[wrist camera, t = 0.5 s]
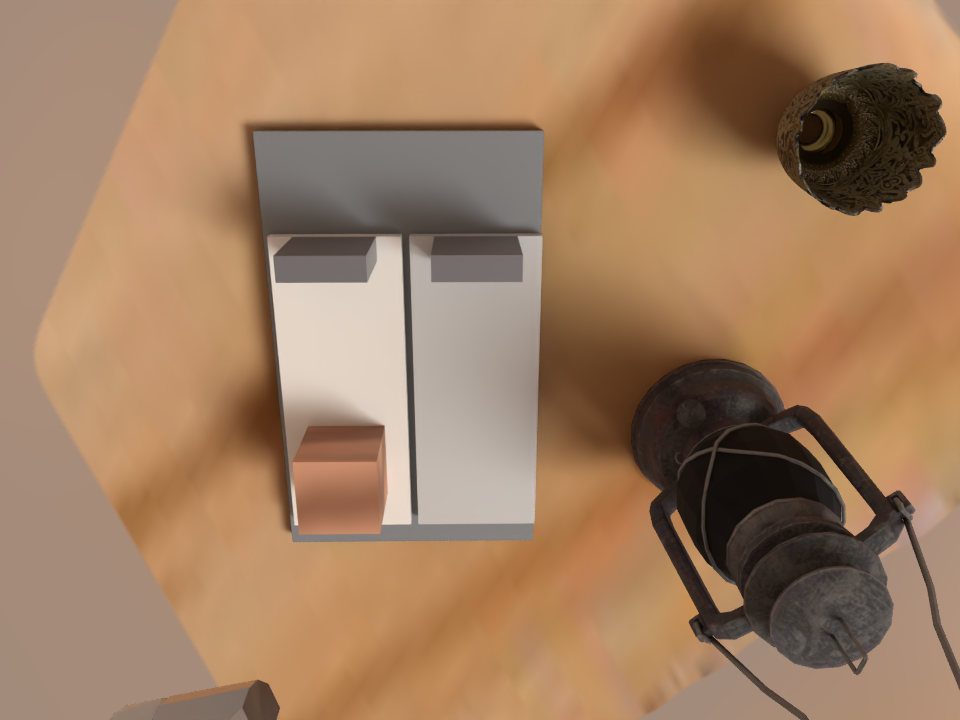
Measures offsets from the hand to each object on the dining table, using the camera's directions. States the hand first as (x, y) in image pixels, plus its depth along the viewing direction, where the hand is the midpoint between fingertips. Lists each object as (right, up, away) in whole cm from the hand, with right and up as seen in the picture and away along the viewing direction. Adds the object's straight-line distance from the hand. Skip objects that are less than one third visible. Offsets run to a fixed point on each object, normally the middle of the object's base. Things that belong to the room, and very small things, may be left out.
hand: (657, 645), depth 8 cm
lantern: (+14, -2, +47) cm, 49 cm away
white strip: (-11, +1, +44) cm, 45 cm away
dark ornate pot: (+18, +17, +40) cm, 47 cm away
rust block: (-11, -4, +45) cm, 46 cm away
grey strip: (-2, +1, +44) cm, 44 cm away
